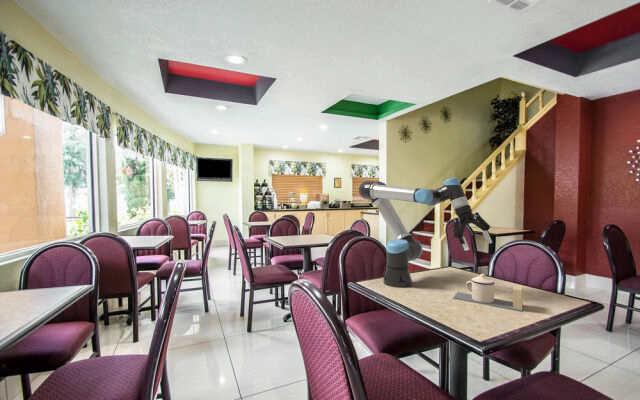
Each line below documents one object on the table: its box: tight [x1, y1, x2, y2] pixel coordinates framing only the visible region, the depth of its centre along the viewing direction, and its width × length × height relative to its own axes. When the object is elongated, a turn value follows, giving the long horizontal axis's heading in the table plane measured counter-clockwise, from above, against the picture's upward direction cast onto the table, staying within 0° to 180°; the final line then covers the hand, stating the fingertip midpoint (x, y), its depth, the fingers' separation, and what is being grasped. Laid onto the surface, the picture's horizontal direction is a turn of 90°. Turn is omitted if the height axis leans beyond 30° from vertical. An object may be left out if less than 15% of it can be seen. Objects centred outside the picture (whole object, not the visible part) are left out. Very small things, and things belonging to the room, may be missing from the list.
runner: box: [452, 284, 524, 312], centre depth 127 cm, size 26×10×8 cm, turn 52°
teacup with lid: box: [465, 273, 495, 303], centre depth 129 cm, size 12×9×12 cm
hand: (478, 246), depth 139 cm, fingers open, 13 cm apart
